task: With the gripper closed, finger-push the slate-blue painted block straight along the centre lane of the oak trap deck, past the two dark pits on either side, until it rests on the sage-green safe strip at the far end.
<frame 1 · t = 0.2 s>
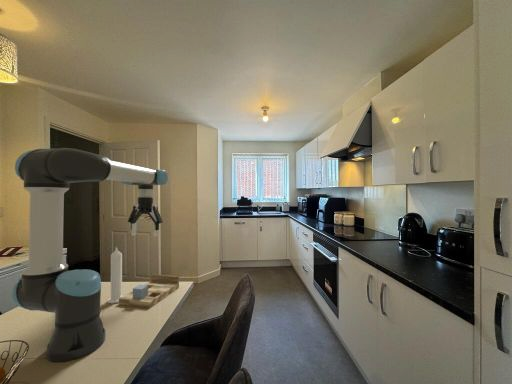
hand: (144, 235, 126), 28 cm above the table, fingers open, 13 cm apart
trap deck: (151, 295, 114), on the table
block: (140, 296, 107), point 2 cm above the table, touching trap deck
candle: (116, 300, 108), on the table
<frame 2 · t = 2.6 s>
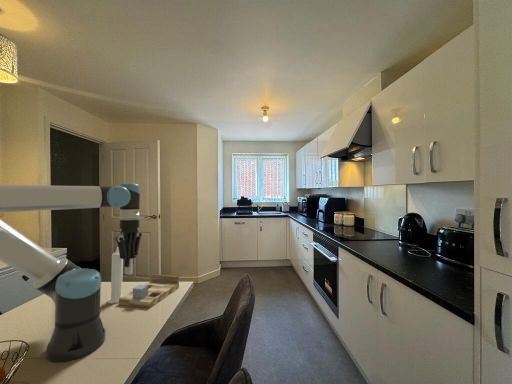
hand: (128, 273, 99), 16 cm above the table, fingers closed
nothing on the table moved.
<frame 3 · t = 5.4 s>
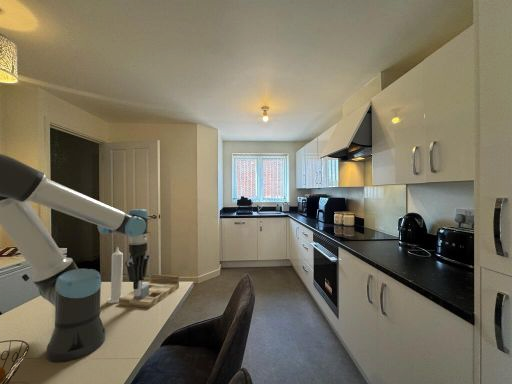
hand: (137, 295, 105), 4 cm above the table, fingers closed
block: (141, 296, 107), point 2 cm above the table, touching gripper, trap deck
everything else where it was.
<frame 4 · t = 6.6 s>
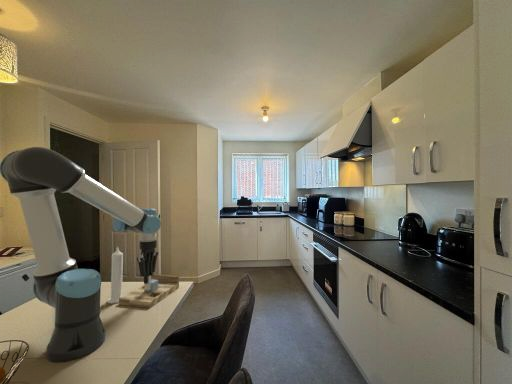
hand: (147, 289, 111), 4 cm above the table, fingers closed
block: (151, 290, 114), point 3 cm above the table, touching gripper
everything else where it was.
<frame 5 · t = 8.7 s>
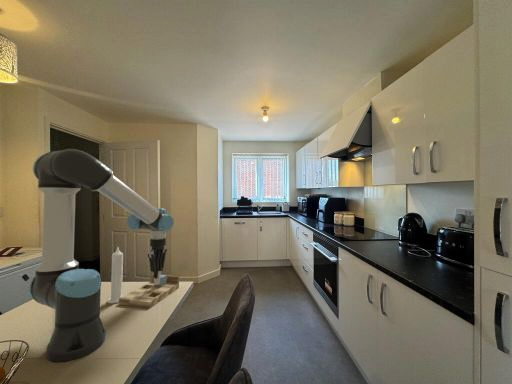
hand: (157, 284, 119), 4 cm above the table, fingers closed
block: (160, 284, 122), point 2 cm above the table, touching gripper, trap deck
everything else where it was.
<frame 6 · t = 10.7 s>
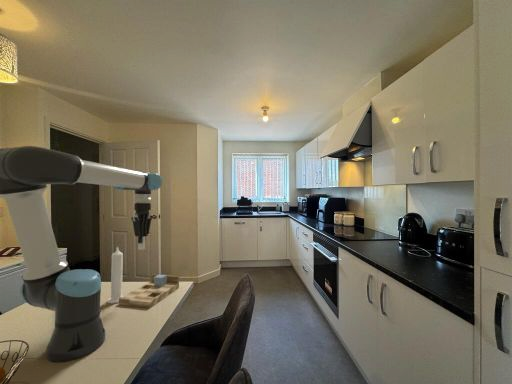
hand: (141, 249, 116), 22 cm above the table, fingers closed
block: (160, 284, 122), point 2 cm above the table, touching trap deck
everything else where it was.
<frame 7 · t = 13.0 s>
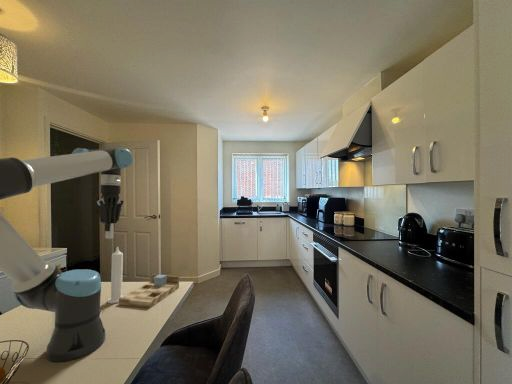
hand: (109, 238, 102), 30 cm above the table, fingers closed
nothing on the table moved.
at the end: block 0.8 cm from the target spot on the trap deck, point 2.5 cm above the trap deck's base; block tilted 0° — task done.
